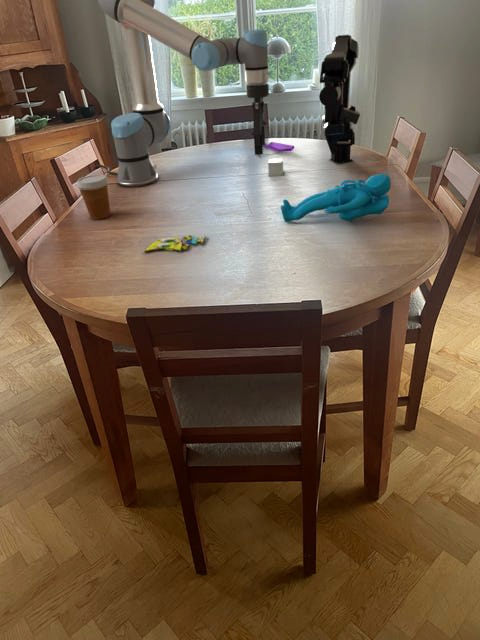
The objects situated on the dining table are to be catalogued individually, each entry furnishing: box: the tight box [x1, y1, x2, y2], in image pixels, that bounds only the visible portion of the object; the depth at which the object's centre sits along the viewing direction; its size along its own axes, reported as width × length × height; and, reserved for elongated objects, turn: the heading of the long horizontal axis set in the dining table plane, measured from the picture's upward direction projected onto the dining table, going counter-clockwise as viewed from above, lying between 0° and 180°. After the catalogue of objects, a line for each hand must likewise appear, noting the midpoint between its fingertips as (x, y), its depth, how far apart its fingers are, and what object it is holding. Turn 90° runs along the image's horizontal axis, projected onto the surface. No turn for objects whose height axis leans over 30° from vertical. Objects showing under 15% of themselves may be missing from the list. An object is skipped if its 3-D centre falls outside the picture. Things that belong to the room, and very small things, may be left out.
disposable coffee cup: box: [76, 174, 111, 220], centre depth 151 cm, size 10×10×12 cm
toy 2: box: [280, 173, 392, 223], centre depth 134 cm, size 17×11×30 cm
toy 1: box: [144, 234, 207, 254], centre depth 130 cm, size 10×1×15 cm
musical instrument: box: [258, 141, 295, 156], centre depth 208 cm, size 24×2×20 cm
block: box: [267, 158, 284, 177], centre depth 177 cm, size 5×5×5 cm
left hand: (260, 149), depth 171 cm, fingers open, 13 cm apart
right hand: (332, 150), depth 163 cm, fingers open, 9 cm apart
